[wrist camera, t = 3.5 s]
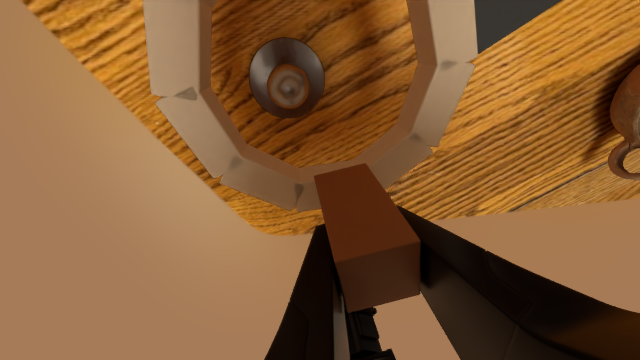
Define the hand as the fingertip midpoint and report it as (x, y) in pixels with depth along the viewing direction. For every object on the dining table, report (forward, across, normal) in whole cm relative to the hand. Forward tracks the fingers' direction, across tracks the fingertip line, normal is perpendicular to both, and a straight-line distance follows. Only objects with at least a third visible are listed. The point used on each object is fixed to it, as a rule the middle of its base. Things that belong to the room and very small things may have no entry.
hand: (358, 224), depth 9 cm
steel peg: (+11, +1, -4) cm, 12 cm away
